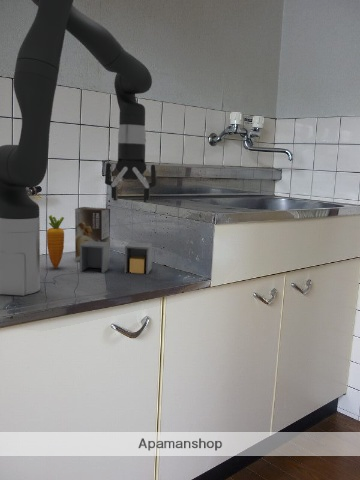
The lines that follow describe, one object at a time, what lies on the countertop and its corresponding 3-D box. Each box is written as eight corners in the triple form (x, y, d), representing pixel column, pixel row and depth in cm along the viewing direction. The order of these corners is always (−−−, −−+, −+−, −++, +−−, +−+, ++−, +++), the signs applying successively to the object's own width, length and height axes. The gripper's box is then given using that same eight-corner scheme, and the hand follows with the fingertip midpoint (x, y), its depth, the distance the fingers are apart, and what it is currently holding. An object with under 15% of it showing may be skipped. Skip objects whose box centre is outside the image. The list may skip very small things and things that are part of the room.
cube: (143, 273, 136) (144, 259, 136) (129, 272, 137) (129, 258, 136) (146, 270, 140) (146, 256, 140) (132, 269, 141) (132, 256, 140)
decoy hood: (103, 273, 135) (103, 246, 133) (80, 271, 135) (80, 244, 134) (109, 268, 141) (109, 242, 140) (86, 266, 142) (87, 241, 140)
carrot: (67, 266, 140) (67, 214, 138) (61, 270, 136) (61, 216, 133) (50, 265, 141) (49, 213, 138) (43, 269, 136) (43, 215, 134)
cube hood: (147, 274, 136) (148, 247, 134) (124, 272, 136) (125, 246, 135) (151, 269, 142) (152, 243, 141) (129, 267, 143) (129, 242, 141)
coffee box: (110, 260, 152) (111, 208, 150) (101, 264, 146) (102, 210, 143) (84, 257, 155) (84, 206, 152) (74, 261, 149) (74, 208, 146)
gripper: (103, 141, 133) (102, 201, 135) (155, 142, 132) (154, 203, 134) (109, 142, 140) (108, 199, 143) (159, 143, 139) (157, 201, 142)
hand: (130, 201), depth 139 cm, fingers open, 8 cm apart
